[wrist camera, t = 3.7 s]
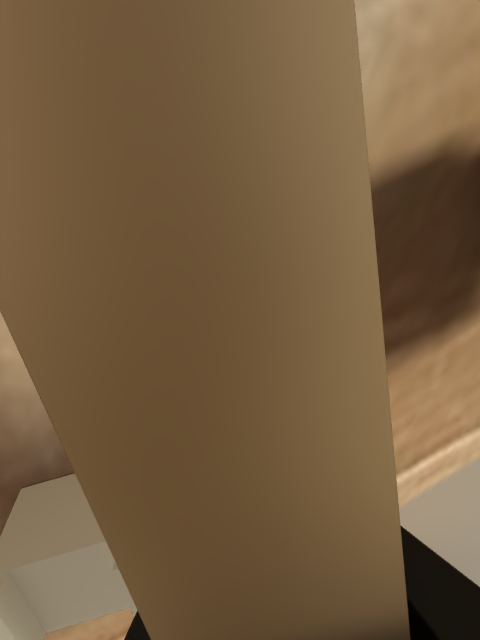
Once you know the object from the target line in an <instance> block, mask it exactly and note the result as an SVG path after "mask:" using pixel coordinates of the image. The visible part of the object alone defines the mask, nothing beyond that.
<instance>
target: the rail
mask: <svg viewBox="0 0 480 640" xmlns="http://www.w3.org/2000/svg"><path fill="white" fill-rule="evenodd" d="M0 311H1V313H2V316H3V318H4V320H5V322H6V324H7V327H8V329H9V331H10V333H11V335H12V337H13V340H14V342H15V344H16V346H17V348H18V351H19V353H20V355H21V357H22V359H23V361H24V364H25V366H26V368H27V370H28V372H29V375H30V377H31V379H32V381H33V383H34V385H35V388H36V390H37V392H38V394H39V396H40V399H41V401H42V403H43V405H44V407H45V409H46V412H47V414H48V416H49V418H50V420H51V423H52V425H53V427H54V429H55V431H56V433H57V436H58V438H59V440H60V442H61V444H62V447H63V449H64V451H65V453H66V455H67V457H68V460H69V462H70V464H71V466H72V468H73V471H74V473H75V475H76V477H77V479H78V481H79V484H80V486H81V488H82V490H83V492H84V495H85V497H86V499H87V501H88V503H89V505H90V508H91V510H92V512H93V514H94V516H95V519H96V521H97V523H98V525H99V527H100V529H101V532H102V534H103V536H104V538H105V540H106V543H107V545H108V547H109V549H110V551H111V553H112V556H113V558H114V560H115V562H116V564H117V567H118V569H119V571H120V573H121V575H122V577H123V580H124V582H125V584H126V586H127V588H128V591H129V593H130V595H131V597H132V599H133V601H134V604H135V606H136V608H137V610H138V612H139V615H140V617H141V619H142V621H143V623H144V625H145V628H146V630H147V632H148V634H149V636H150V639H151V640H410V629H409V618H408V607H407V595H406V584H405V572H404V561H403V550H402V538H401V527H400V516H399V504H398V493H397V481H396V470H395V459H394V447H393V436H392V424H391V413H390V402H389V390H388V379H387V368H386V356H385V345H384V333H383V322H382V311H381V299H380V288H379V276H378V265H377V254H376V242H375V231H374V220H373V208H372V197H371V185H370V174H369V163H368V151H367V140H366V128H365V117H364V106H363V94H362V83H361V72H360V60H359V49H358V37H357V26H356V15H355V3H354V0H0Z"/></svg>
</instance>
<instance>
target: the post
mask: <svg viewBox="0 0 480 640" xmlns="http://www.w3.org/2000/svg"><path fill="white" fill-rule="evenodd" d="M127 608H130V609H131V612H132V614H133V616H134V617H135V615H136V612H137V608H136V606H135V604H134V601H133V599H132V597H131V595H130V593H129V591H128V588H127V586H126V584H125V582H124V580H123V577H122V575H121V573H120V571H119V569H118V567H117V564H116V562H115V560H114V558H113V556H112V553H111V551H110V549H109V547H108V545H107V543H106V540H105V538H104V536H103V534H102V532H101V529H100V527H99V525H98V523H97V521H96V519H95V516H94V514H93V512H92V510H91V508H90V505H89V503H88V501H87V499H86V497H85V495H84V492H83V490H82V488H81V486H80V484H79V481H78V479H77V477H76V475H75V473H74V474H70V475H67V476H63V477H60V478H56V479H53V480H49V481H46V482H42V483H39V484H35V485H32V486H28V487H25V488H21V490H20V492H19V495H18V497H17V499H16V501H15V504H14V506H13V508H12V511H11V513H10V515H9V518H8V520H7V522H6V524H5V527H4V529H3V531H2V534H1V536H0V640H44V639H45V635H46V633H49V632H53V631H56V630H59V629H62V628H66V627H69V626H72V625H75V624H78V623H82V622H85V621H88V620H91V619H94V618H98V617H101V616H104V615H107V614H111V613H114V612H117V611H120V610H123V609H127Z"/></svg>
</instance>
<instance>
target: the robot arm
mask: <svg viewBox="0 0 480 640" xmlns="http://www.w3.org/2000/svg"><path fill="white" fill-rule="evenodd" d="M400 527H401V538H402V550H403V561H404V572H405V584H406V595H407V607H408V618H409V629H410V640H480V587H479V586H478V585H477V584H475V583H474V582H473V581H471V580H470V579H468V578H467V577H466V576H465V575H464V574H462V573H461V572H460V571H458V570H457V569H456V568H454V567H453V566H452V565H451V564H449V563H448V562H447V561H445V560H444V559H443V558H442V557H440V556H439V555H438V554H436V553H435V552H434V551H433V550H431V549H430V548H428V546H426V545H425V544H423V543H422V542H421V541H420V540H418V539H417V538H416V537H415V536H413V535H412V534H411V533H410V532H408V531H407V530H406V529H404V528H403V527H402V526H401V525H400ZM124 640H151V639H150V636H149V634H148V632H147V630H146V628H145V625H144V623H143V621H142V619H141V617H140V615H139V612H138V610H137V612H136V615H135V617H134V619H133V621H132V623H131V626H130V628H129V630H128V632H127V635H126V637H125V639H124Z"/></svg>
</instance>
